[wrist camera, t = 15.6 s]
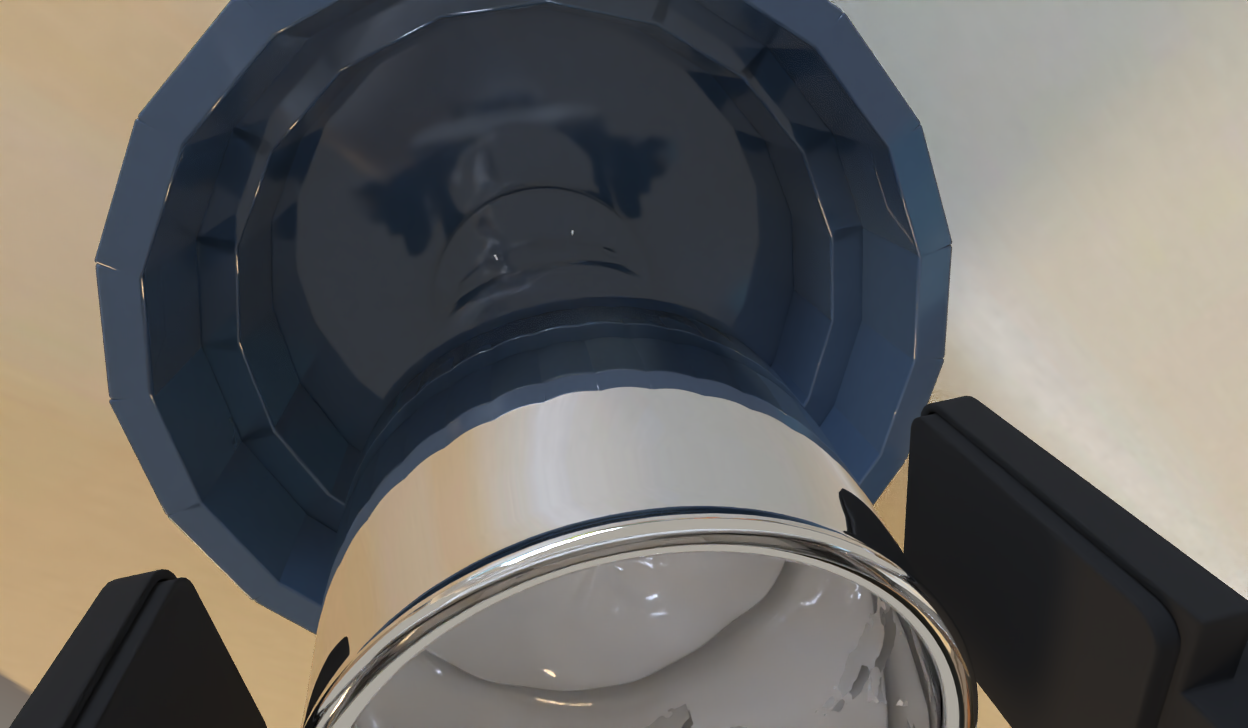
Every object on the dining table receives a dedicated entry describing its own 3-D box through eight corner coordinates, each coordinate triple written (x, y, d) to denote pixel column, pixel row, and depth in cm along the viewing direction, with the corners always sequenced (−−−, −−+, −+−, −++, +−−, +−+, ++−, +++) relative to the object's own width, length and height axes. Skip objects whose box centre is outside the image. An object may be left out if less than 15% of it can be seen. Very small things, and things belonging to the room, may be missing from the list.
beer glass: (710, 315, 21) (1090, 791, 8) (524, 447, 22) (575, 1090, 9) (572, 113, 18) (796, 319, 5) (362, 274, 19) (49, 838, 6)
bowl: (330, 588, 24) (282, 749, 18) (91, -7, 16) (-111, -31, 11) (836, 479, 25) (929, 597, 20) (833, -106, 18) (981, -169, 12)
